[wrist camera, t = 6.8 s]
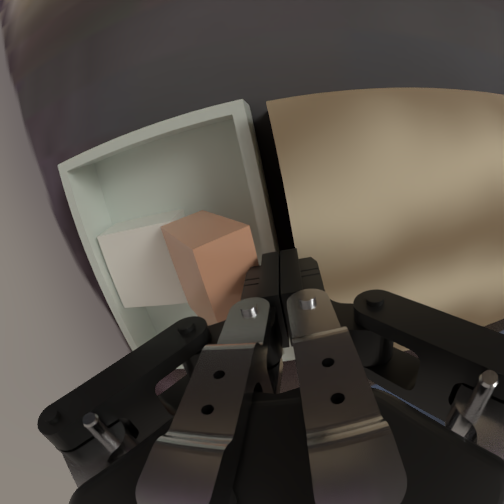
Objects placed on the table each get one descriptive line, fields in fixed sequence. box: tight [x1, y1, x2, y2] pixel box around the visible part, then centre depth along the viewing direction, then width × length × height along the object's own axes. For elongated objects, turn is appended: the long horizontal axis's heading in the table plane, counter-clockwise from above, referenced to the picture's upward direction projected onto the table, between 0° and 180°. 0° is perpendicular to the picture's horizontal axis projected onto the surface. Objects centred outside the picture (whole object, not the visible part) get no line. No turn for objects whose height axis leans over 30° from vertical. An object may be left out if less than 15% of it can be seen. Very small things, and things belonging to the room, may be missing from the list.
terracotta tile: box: [160, 210, 259, 326], centre depth 14 cm, size 5×5×2 cm
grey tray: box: [58, 99, 295, 369], centre depth 17 cm, size 15×11×4 cm
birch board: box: [266, 88, 504, 351], centre depth 14 cm, size 14×14×5 cm
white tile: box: [97, 209, 188, 308], centre depth 17 cm, size 5×5×2 cm
